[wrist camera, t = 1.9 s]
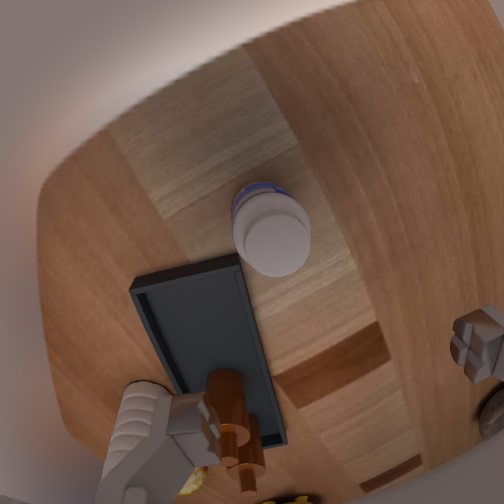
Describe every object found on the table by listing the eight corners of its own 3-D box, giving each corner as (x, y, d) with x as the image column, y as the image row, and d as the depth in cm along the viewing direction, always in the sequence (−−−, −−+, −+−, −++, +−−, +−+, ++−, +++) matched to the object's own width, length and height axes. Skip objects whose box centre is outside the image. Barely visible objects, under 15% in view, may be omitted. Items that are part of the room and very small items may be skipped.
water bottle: (137, 371, 33) (93, 577, 10) (184, 396, 35) (174, 595, 12) (110, 406, 35) (70, 575, 12) (153, 427, 37) (134, 593, 14)
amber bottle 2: (229, 434, 38) (234, 503, 27) (220, 415, 36) (223, 489, 26) (262, 428, 38) (272, 497, 27) (255, 409, 36) (265, 483, 26)
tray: (285, 430, 39) (288, 444, 37) (214, 443, 39) (214, 457, 37) (238, 252, 29) (239, 264, 27) (134, 277, 29) (128, 290, 27)
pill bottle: (301, 223, 29) (335, 265, 20) (247, 249, 29) (258, 302, 20) (276, 168, 27) (304, 186, 18) (219, 196, 27) (217, 228, 18)
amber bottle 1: (212, 397, 35) (212, 475, 24) (200, 372, 33) (196, 453, 23) (248, 391, 35) (257, 468, 24) (239, 364, 33) (247, 446, 23)
